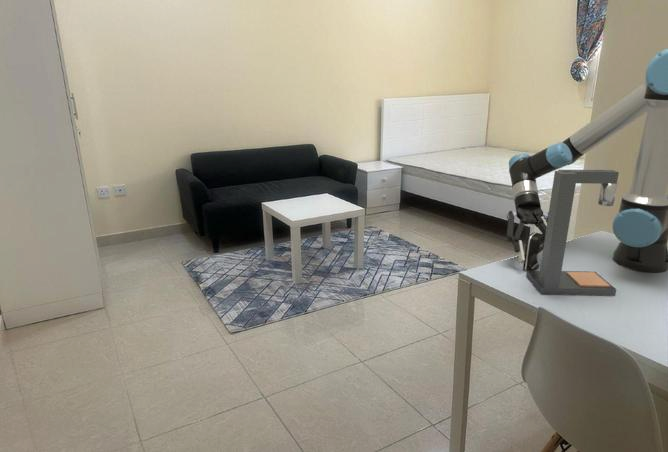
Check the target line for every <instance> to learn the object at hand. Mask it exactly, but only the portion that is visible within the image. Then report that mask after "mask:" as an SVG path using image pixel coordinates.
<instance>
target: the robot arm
mask: <svg viewBox="0 0 668 452" xmlns="http://www.w3.org/2000/svg"><path fill="white" fill-rule="evenodd" d="M645 114H646V118H645V123H644V127H643V130H642V131H643V132H642V136H641V140H640V144H639V149H638V153H637V158H636V162H635V167H634V170H633V176H632V179H631V180H632V181H631V184H630V188H629V191H628V192H627V193H625V194H623V195H622V197H621V201H620V205H619V208H618V213H617V214H616V216H615V217H614V219H613V222H612V231H613V234H614V236H615V237H616V238H617V240H618V241H619V243H618V245H617V246H616V248H615V250H614V251H613V255H612V260H613V262H615V263H616V264H618V265H620V266H622V267H624V268H627V269H630V270H634V271H640V272H645V273H646V272H647V273H662V272H667V271H668V194H667V191H668V48H665V49H663V50H662V51H660V52H659V53H657V54H656V55H654V57H653V58H652V59H651V60H650V62H649V63H648V66H647V68H646V70H645V78H644V82H643V83H642V84H641V85H640V86H638V87H637V88H636V89H634V90H633V91H631V92H630V93H628V94H627V95H626V96H623V98H622V99H620V100H619V101H618V102H616V103H614V104H613V105H612V106H611V107H608V109H606V110H605V111H603V112H602V113H601V114H599V115H598V116H597V117H595V118H594V119H592V120H591V121H589V122H588V123H587V124H586V125H584V126H583V127H581V128H580V129H579V130H577V131H576V132H574V133H573V134H571V135H569V137H568V138H566V139H565V140H563V141H561V142H557V143H554V144H551V145H549V146H548V147H547V148H544V149H542V150H541V151H538V152H537V153H533V154H532V155H530V154H528V153H519V154H514V155H513V156H511V158H510V159H509V161H508V173H509V176H510V182H511V188H512V194H513V199H514V206H515V211H512V210H509V211H508V213H507V214H506V218H507V219H506V220H507V230H506V240H505V241H506V242H511V243H512V245H513V249H514V252H515V253H517V254H518V262H519V264H524V260H525V258H524V257H525V251H524V246H523V241H522V240H521V239H520V237H521V234H522V233H523V229H524V227H525V225H534V226H535V227H536V228H537V229H538V230H539V231H540V233H541V234H543V235H544V236H545V234H546V227H547V221H548V214H549V211H547V212H546V211H543V209H542V206H541V200H540V196H539V190H538V189H539V188H538V186H537V185H538V184H537V179H538V178H540V177H543V176H544V175H547V174H549V173H551V172H555V171H558V170H560V169H562V168H564V167H567V166H570V165H572V164H574V163H575V162H576V161H577V160H579V159H580V158H582V156H584V155H585V154H587V153H588V152H590V151H591V150H593V149H594V148H596V147H597V146H599V145H600V144H602V143H603V142H605V141H606V140H608V139H609V138H611V137H612V136H614V135H615V134H617V133H619V131H621V130H623V129H624V128H626V127H627V126H629V125H630V124H632V123H633V122H635V121H637V120H638V119H639V118H641V117H642V116H644V115H645ZM516 217H517V219H518V220H519V223H518V226H517V228H516V230H515V234H514V227H515V218H516ZM542 217H543V218H542ZM544 220H545V221H544ZM545 222H546V223H545Z"/></svg>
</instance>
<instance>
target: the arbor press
mask: <svg viewBox="0 0 668 452" xmlns="http://www.w3.org/2000/svg"><path fill="white" fill-rule="evenodd" d="M619 175H620V172H619V171H616V170H614V169H557V170H554V175H553V181H552V182H553V183H552V187H551V189H552V190H551V195H550V202H549V207H548V212H549V214H548V221H547V223H546V226H547V227H546V234H545V241H544V248H543V250H542V254H541V255H542V256H541V262H540V268H539V269H540V270H535V271H530V270H527V271H526V273H525V274H526V275H525V277H526V279H527V280H528V281H529V282H530V284H532V286H533V287H534V289H536V291H537V292H538V293H539V294H540V295H542V296H543V295H544V296H545V295H547V296H551V295H552V296H587V297H588V296H589V297H590V296H594V297H595V296H596V297H597V296H599V297H600V296H601V297H616V294H617V289H616V288H615V287H614V286H613V285H612V284H611V283H610V282H608V281H607V280H606V279H605V278H604V277H602V276H601V275H600V274H599V273H597V272H596V271H594V272H595V273H596V274H597V275H598V276H599V277H600V278H602V279H603V280H604V281H605V282H606V283H608V284H609V285H610V287H583V286H579V285H578V284H577V283H576V282H575V281H574V280H573V279H572V278H571V277H570V276H569V275H568V274H567V272H590V271H585V270H584V271H580V270H578V271H577V270H576V271H573V270H572V271H571V270H563V264H564V257H565V254H566V253H565V251H566V245H567V239H568V234H569V228H570V221H571V216H572V210H573V204H574V199H575V198H574V196H575V191H576V186H577V185H576V184H593V185H594V184H597V185H598V184H600V189H599V196H598V202H597V205H600V206H604V207H614V203H615V199H616V194H617V188H618V185H619V184H618V178H619Z"/></svg>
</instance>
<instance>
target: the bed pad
mask: <svg viewBox="0 0 668 452" xmlns="http://www.w3.org/2000/svg"><path fill="white" fill-rule="evenodd" d="M595 272H596V271H589V272H567V274H568V275H569V276H570V277H571V278H572V279H573V280H574V281H575V282H576V283H577V284H578V285H579V286H583V287H610V285H609V284H610V283H609V282H608V283H609V284H608V283H606V282H605V281H604V280H603V279H604V278H603V277H602V278H603V279H602V278H600V277H599V276H598V275H597V274H598V273H597V272H596V273H597V274H596V273H595Z"/></svg>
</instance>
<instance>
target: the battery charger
mask: <svg viewBox="0 0 668 452" xmlns="http://www.w3.org/2000/svg"><path fill="white" fill-rule="evenodd" d="M544 241H545V236H544V235H543V234H542V233H541V232H539V233H538V232H537V231H536V232H534V231H533V232H532V233H531V234H529V235H528V237H527V238H526V242H525V243H526V244H525V249H524V258H525V260H524V262H523V266H522V270H523V271H526V272H527V270H530V271H537V269H538V268H539V267H540V264H539V261H538V259H537V257H538V254H540V253H541V252H543V248H544Z"/></svg>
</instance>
